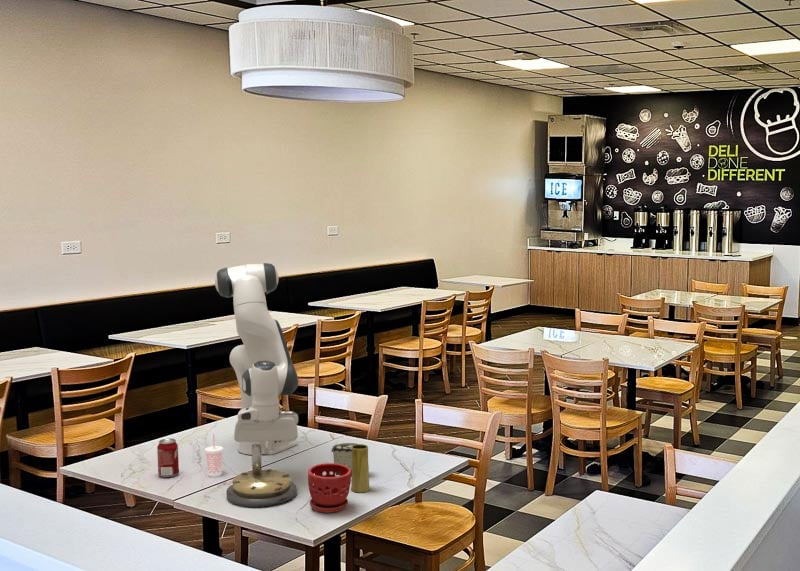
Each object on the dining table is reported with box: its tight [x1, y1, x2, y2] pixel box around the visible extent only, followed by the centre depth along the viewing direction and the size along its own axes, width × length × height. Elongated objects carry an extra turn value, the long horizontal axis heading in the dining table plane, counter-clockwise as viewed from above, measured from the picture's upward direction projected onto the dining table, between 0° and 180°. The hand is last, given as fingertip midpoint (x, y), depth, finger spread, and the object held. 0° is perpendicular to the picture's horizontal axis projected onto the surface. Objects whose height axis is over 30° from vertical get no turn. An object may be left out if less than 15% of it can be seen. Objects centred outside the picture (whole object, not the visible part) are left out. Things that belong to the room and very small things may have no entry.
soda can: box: [156, 438, 180, 479], centre depth 282 cm, size 7×7×12 cm
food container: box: [330, 442, 358, 478], centre depth 282 cm, size 12×6×10 cm, turn 71°
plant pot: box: [307, 462, 352, 513], centre depth 252 cm, size 13×13×12 cm
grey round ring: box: [225, 480, 298, 509], centre depth 263 cm, size 22×22×2 cm
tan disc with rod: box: [232, 444, 291, 498], centre depth 262 cm, size 18×18×12 cm
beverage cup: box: [204, 433, 224, 477], centre depth 282 cm, size 6×6×14 cm
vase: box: [350, 443, 371, 494], centre depth 267 cm, size 6×6×14 cm
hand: (266, 453), depth 269 cm, fingers closed
